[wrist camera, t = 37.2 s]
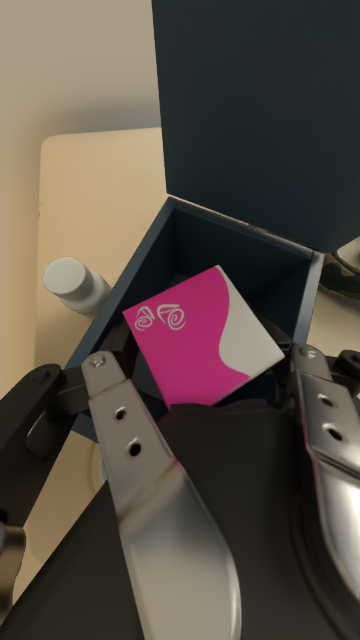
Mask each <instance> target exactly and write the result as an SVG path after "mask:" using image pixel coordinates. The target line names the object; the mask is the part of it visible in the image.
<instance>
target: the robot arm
mask: <svg viewBox="0 0 360 640" xmlns="http://www.w3.org/2000/svg"><path fill="white" fill-rule="evenodd" d="M253 314H254V315H255V316H256V318H257V319H258V320H259V322H260V323H261V324H262V326H263V327H264V329H265V330H266V331H267V333H268V334H269V335H270V337H271V338H272V339H273V341H274V342H275V343H276V345H277V346H278V347H279V349H280V350H281V351H282V352H283V354H284V355H285V358H283V359H282V360H281V361H279V362H278V363H276V364H275V365H273V366H272V367H270V368H268V369H267V370H266V371H264V373H265V374H274V375H275V376H276V379H275V385H274V400H273V408H272V407H269V406H268V404H267V402H266V400H265V399H248V400H240V401H237V402H235V403H232V404H229V405H226V406H224V407H213V406H208V405H203V404H198V403H181V404H170V412H169V413H166V414H164V415H162V416H160V417H158V418H157V419H155V420H153V418H152V416H151V415H150V413H149V411H148V410H147V408H146V406H145V404H144V403H143V401H142V399H141V397H140V396H139V394H138V392H137V390H136V389H135V387H134V385H133V383H132V382H131V379H132V375H133V371H134V367H135V363H136V359H137V355H138V351H139V346H138V344H137V342H136V340H135V338H134V336H133V333H132V331H131V329H130V327H129V325H128V323H127V321H126V319H125V318H124V320H123V321H122V323H117V324H116V325H115V326H113V327H112V328H111V330H110V332H109V334H108V335H107V338H106V339H105V340H104V342H103V344H102V345H101V347H100V349H99V350H98V352H95V353H93V354H91V355H89V356H88V357H87V358H85V360H84V361H83V362H82V365H80V366H76V367H73V368H69V369H65V370H62V369H61V367H60V366H59V365H58V364H46V365H43V366H40V367H38V368H36V369H34V370H32V371H30V372H29V373H28V374H26V375H25V376H24V377H23V378H22V379H21V380H20V381H19V382H18V383H17V384H16V385H15V386H14V387H13V388H12V389H11V390H10V391H9V392H8V393H7V394H6V395H5V396H4V397H3V398H2V399H1V400H0V640H360V399H359V398H358V397H356V396H357V395H358V394H359V393H360V352H357V351H353V350H343V351H341V353H340V354H339V356H338V357H331V356H326V355H324V354H323V353H322V352H321V351H320V350H319V349H317V348H315V347H313V346H311V345H308V344H305V343H295V342H294V341H293V340H292V339H291V338H290V337H289V336H288V335H286V334H285V333H284V332H283V331H281V329H280V328H278V327H277V326H276V325H275V324H274V323H273V322H272V321H270V320H268V319H266V318H264V317H263V316H262V315H261V314H260V313H259V312H257V311H254V312H253ZM89 408H90V411H91V415H92V419H93V423H94V427H95V430H96V434H97V438H98V442H99V446H100V450H101V454H102V458H103V462H104V466H105V470H106V474H107V478H108V479H107V480H106V482H105V483H104V484H103V486H102V487H101V488H100V490H99V491H98V492H97V494H96V495H95V496H94V498H93V499H92V500H91V502H90V503H89V504H88V506H87V507H86V508H85V510H84V511H83V513H82V514H81V515H80V517H79V518H78V519H77V521H76V522H75V523H74V525H73V526H72V527H71V529H70V530H69V531H68V533H67V534H66V535H65V537H64V538H63V539H62V541H61V542H60V543H59V545H58V546H57V547H56V549H55V550H54V552H53V553H52V554H51V556H50V557H49V558H48V560H47V561H46V562H45V564H44V565H43V566H42V568H41V569H40V571H39V572H38V573H37V574H36V576H35V577H34V578H33V580H32V581H31V582H30V584H29V585H28V587H27V588H26V589H25V591H24V592H23V593H22V595H21V596H20V597H19V599H18V600H17V601H16V603H15V604H14V606H13V604H12V598H13V589H14V583H15V579H16V576H17V575H18V573H19V570H20V567H21V564H22V559H23V556H24V552H25V547H26V534H25V531H24V529H23V526H24V524H25V522H26V520H27V518H28V516H29V514H30V512H31V510H32V508H33V506H34V504H35V502H36V500H37V498H38V496H39V494H40V492H41V490H42V488H43V486H44V484H45V482H46V480H47V477H48V475H49V473H50V471H51V469H52V467H53V465H54V463H55V461H56V459H57V457H58V455H59V453H60V451H61V449H62V447H63V445H64V443H65V441H66V439H67V437H68V435H69V433H70V431H71V429H72V427H73V425H74V423H75V420H76V418H77V416H78V414H79V412H81V411H84V410H87V409H89ZM40 415H42V416H41V418H40V419H39V421H38V422H37V423H36V425H35V426H34V428H33V429H32V431H31V432H30V434H29V435H28V433H29V431H30V430H31V428H32V427H33V425H34V424H35V422H36V421H37V420H38V418H39V417H40ZM27 435H28V437H27Z"/></svg>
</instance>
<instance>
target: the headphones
mask: <svg viewBox="0 0 360 640" xmlns="http://www.w3.org/2000/svg"><path fill="white" fill-rule="evenodd" d="M310 249H312V250H313V251H317V252H320V253H322V254H325V256H324V261H323V266H322V270H321V275H320V280H319V283H320V284H321V285H323V286H324V287H325V288H327V289H328V290H331V291H334V292H337V293H339V294H342V295H344V296H346V297H349V298H352V299H356V300H360V270H358V269H356V268H354V267H352V266H350V265H349V264H348V263H346V262H345V261H344V260H343V259H341V258H340V257H339V255H338V254H337V250H336V251H334V252H333V253H331V254H329V253H326V252H324V251H321V250H318V249H315V248H313V247H311V248H310Z"/></svg>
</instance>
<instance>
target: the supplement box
mask: <svg viewBox="0 0 360 640" xmlns="http://www.w3.org/2000/svg"><path fill="white" fill-rule="evenodd" d="M123 314H124V316H125V319H126V321H127V323H128V325H129V327H130V329H131V331H132V333H133V336H134V338H135V340H136V342H137V344H138V346H139V348H140V351H141V353H142V355H143V357H144V359H145V361H146V363H147V366H148V368H149V370H150V372H151V374H152V377H153V379H154V381H155V383H156V385H157V387H158V389H159V392H160V394H161V396H162V398H163V400H164V402H165V404H166V407H167V409H168V411H169V412H170V404H181V403H198V404H203V405H208V406H212V405H214V404H216V403H217V402H219V401H221V400H222V399H224V398H225V397H226V396H228V395H230V394H231V393H233V392H234V391H236V390H237V389H239V388H240V387H242V386H243V385H245V384H246V383H248V382H249V381H251V380H252V379H254V378H255V377H257V376H258V375H260V374H261V373H263V372H264V371H266V370H267V369H268V368H270V367H272V366H273V365H275V364H276V363H278V362H279V361H281V360H282V359H283V358H285V355H284V354H283V352H282V351H281V350H280V349H279V347H278V346H277V345H276V343H275V342H274V341H273V339H272V338H271V337H270V335H269V334H268V333H267V331H266V330H265V329H264V327H263V326H262V324H261V323H260V322H259V320H258V319H257V318H256V316H255V315H254V314H253V312H252V311H251V309H250V308H249V307H248V305H247V304H246V302H245V301H244V299H243V298H242V297H241V295H240V294H239V292H238V291H237V290H236V288H235V287H234V285H233V284H232V282H231V281H230V280H229V278H228V277H227V275H226V274H225V273H224V271H223V270H222V268H221V267H220V266H219V265H216V266H214V267H212V268H210V269H208V270H206V271H204V272H202V273H200V274H198V275H196V276H194V277H192V278H190V279H188V280H186V281H184V282H182V283H180V284H178V285H176V286H174V287H172V288H170V289H168V290H166V291H164V292H161V293H159V294H157V295H155V296H154V297H152V298H149V299H147V300H145V301H143V302H141V303H139V304H137V305H135V306H133V307H131V308H129V309H127V310H125V311H123Z"/></svg>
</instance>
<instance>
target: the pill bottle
mask: <svg viewBox="0 0 360 640" xmlns="http://www.w3.org/2000/svg"><path fill="white" fill-rule="evenodd" d="M42 280H43V284H44V286H45V287H46V289H47V290H49V291H50V292H51V293H53V294H55V295H57V296H58V297H60V300H61V301H62V303H63V304H64V305H65V306H67V307H68V308H70V309H72V310H74V311H76V312H78V313H80V314H82V315H84V316H86V317H88V318H90V319H93V320H94V319H95V317H96V315H97V314H98V312H99V310H100V309H101V307H102V305H103V304H104V302H105V301H106V299H107V297H108V296H109V294H110V292H111V291H112V288H111V287H110V286H109V285H108V283H107V282H106V281H105V280H104V279H103V278H102V277H101V276H100V275H99V274H98V273H96V272H94V271H92V270H89V269H88V268H87V267H86V266H85V265H84V264H83V263H82V262H80V261H79V260H78V259H75V258H71V257H63V258H59V259H56V260H54V261H53V262H51V263H50V264H49V265H48V266H47V267H46V269H45V271H44V273H43V277H42Z"/></svg>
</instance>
